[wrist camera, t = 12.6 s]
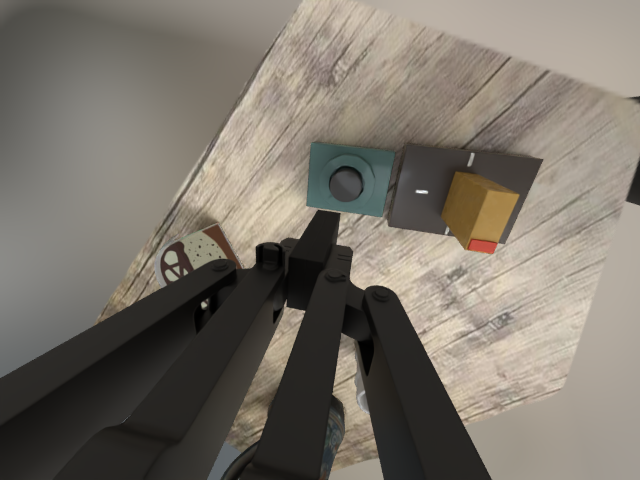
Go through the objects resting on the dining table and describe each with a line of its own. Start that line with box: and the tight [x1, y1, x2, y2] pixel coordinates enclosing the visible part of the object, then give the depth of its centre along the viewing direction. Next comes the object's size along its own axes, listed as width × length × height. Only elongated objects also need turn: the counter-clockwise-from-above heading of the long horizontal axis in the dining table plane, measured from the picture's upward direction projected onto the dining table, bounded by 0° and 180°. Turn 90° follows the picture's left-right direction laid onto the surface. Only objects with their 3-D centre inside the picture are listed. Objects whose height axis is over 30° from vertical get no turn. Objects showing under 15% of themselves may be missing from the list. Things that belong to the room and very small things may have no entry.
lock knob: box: [441, 171, 520, 254], centre depth 25 cm, size 6×2×9 cm, turn 174°
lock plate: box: [387, 143, 543, 244], centre depth 30 cm, size 14×10×3 cm
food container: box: [155, 222, 244, 308], centre depth 38 cm, size 12×6×10 cm, turn 22°
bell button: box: [330, 168, 362, 202], centre depth 29 cm, size 4×4×2 cm
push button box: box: [306, 142, 395, 217], centre depth 32 cm, size 10×8×4 cm
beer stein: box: [221, 395, 345, 480], centre depth 45 cm, size 16×19×25 cm
